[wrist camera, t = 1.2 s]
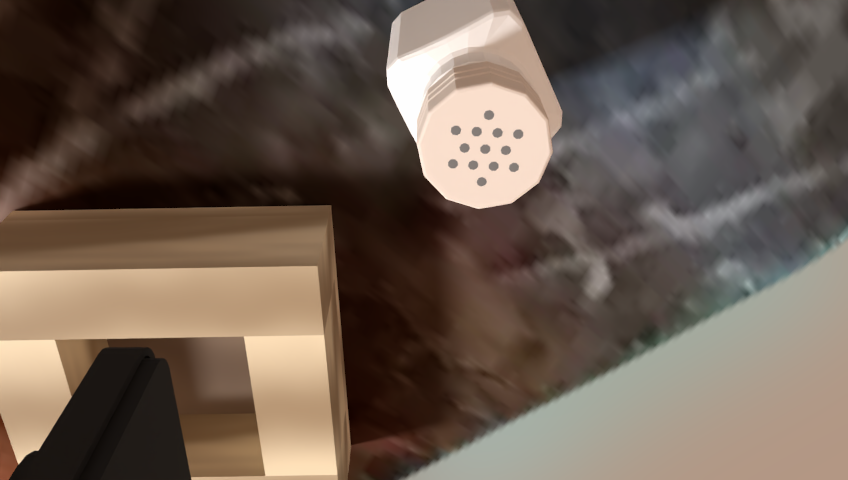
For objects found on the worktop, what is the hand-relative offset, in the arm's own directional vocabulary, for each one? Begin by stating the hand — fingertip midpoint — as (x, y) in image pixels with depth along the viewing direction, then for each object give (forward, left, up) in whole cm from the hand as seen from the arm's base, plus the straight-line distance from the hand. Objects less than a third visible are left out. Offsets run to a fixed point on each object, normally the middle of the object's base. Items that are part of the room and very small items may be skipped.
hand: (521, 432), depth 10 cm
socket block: (+12, -11, -19) cm, 25 cm away
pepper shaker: (0, 0, -19) cm, 19 cm away
